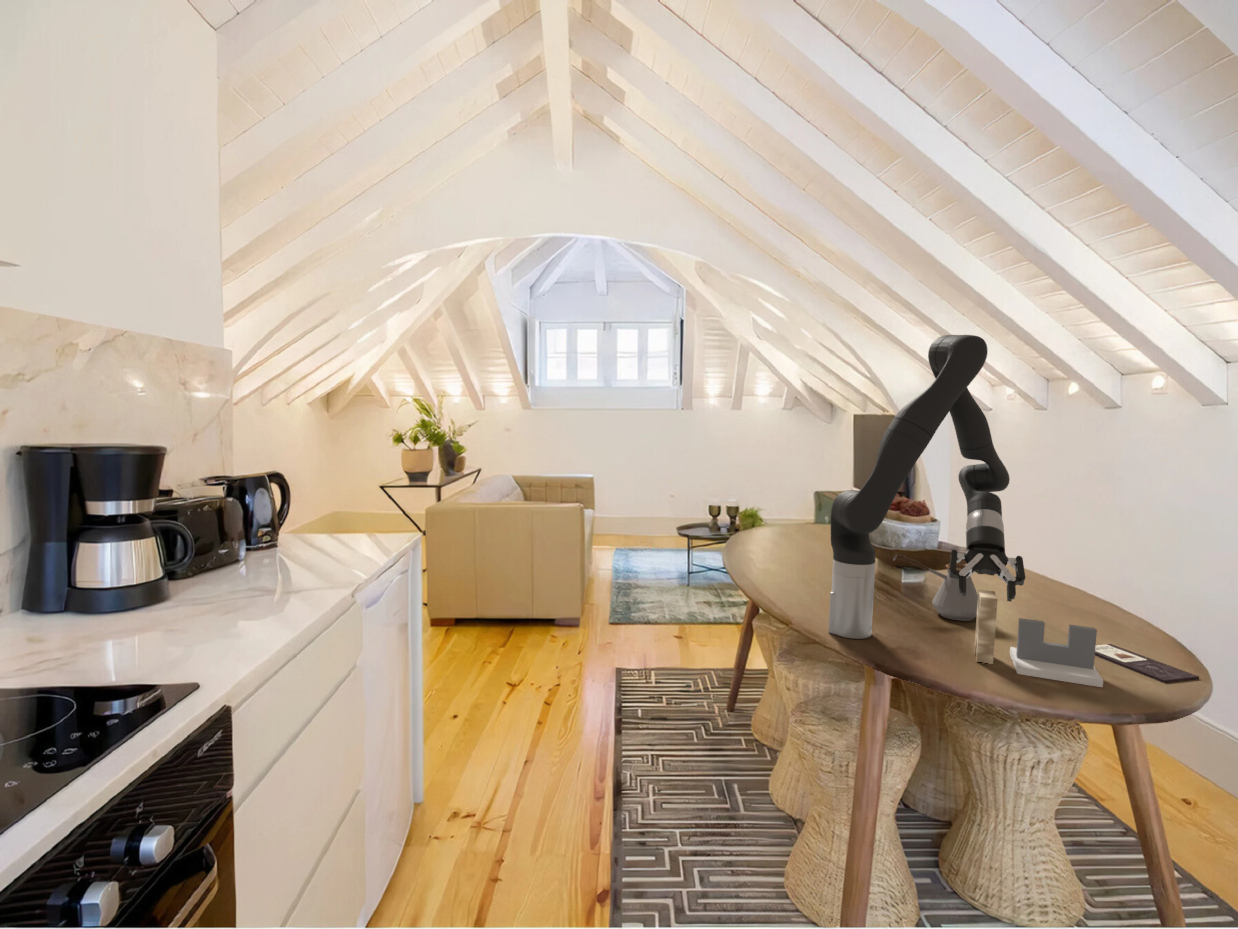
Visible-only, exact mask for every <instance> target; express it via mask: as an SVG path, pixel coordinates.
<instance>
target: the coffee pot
mask: <svg viewBox="0 0 1238 929" xmlns="http://www.w3.org/2000/svg"><path fill="white" fill-rule="evenodd" d="M897 558H900V559H902V560H903V561H906V562H907V563H909V564H911V565H912V566H915V567H918V568H920V569H922V570H924V571H927V572H930V573H932V574H934V575H936V576H938V577H940V578H942V579H944V580H943V581H942V583H941V585H940V587H939V588H938V589H937V592H936V593H935V595H934V597H933V599H932V602H931V603H932V606H933V608H934V609H935V610H936V612H938V613H939V615H940V616H941V617H943V618H946V619H949V620H953V621H958V622H960V621H963V622H970V621H973V620H974V619H975V618H977V603H978V591H977V589H976V587H975V585H974V582H973V579H972V577H971V576H972V575H971V576H969V577H967V578H966V596H962V593H959V591H958V580H957V579H956V578H950V577H949V570H950V563H948V564H945V568H946V569H947V574H944V573H941V572H939V571H937V570H935V569H932V568H930V567H928V566H927V565H924V564H923V563H920V562H919V561H918V560H915V559H912V558H908V557H907V556H906V555H902V554H900V553H897V552H896V553H895V555H894V556H893V559H892V561H895V560H896V559H897ZM966 565H967V564H960V563H957V564H956V570H957V571H961V570H962V569H963V568H964V567H965V566H966Z"/></svg>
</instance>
